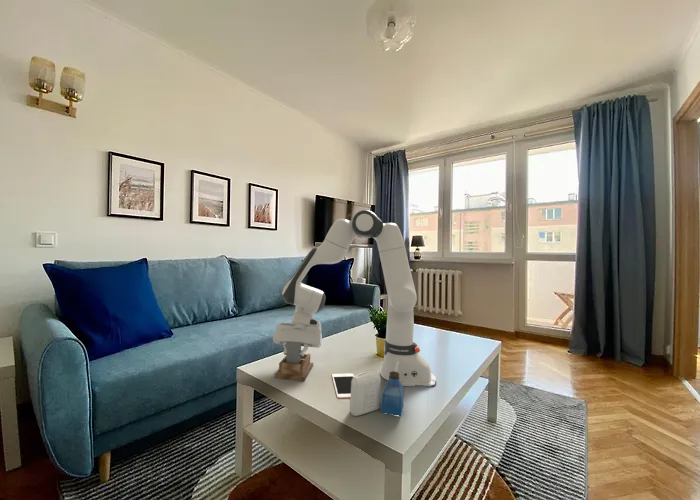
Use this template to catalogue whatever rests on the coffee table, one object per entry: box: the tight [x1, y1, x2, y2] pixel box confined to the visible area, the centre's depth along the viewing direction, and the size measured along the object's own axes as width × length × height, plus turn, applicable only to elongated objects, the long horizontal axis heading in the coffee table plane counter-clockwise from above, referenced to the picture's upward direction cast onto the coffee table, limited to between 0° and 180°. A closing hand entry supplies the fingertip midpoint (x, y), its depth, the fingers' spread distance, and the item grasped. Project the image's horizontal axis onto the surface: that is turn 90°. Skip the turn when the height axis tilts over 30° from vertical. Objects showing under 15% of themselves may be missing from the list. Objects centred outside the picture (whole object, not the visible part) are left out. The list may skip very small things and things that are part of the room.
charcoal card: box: [286, 341, 302, 364], centre depth 115 cm, size 5×2×10 cm, turn 84°
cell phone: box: [331, 373, 355, 400], centre depth 109 cm, size 9×18×1 cm, turn 10°
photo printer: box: [349, 370, 382, 417], centre depth 93 cm, size 10×4×12 cm, turn 124°
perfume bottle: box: [380, 371, 405, 417], centre depth 94 cm, size 6×6×12 cm
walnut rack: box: [274, 353, 314, 382], centre depth 118 cm, size 12×14×6 cm
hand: (293, 355), depth 115 cm, fingers closed on charcoal card, 5 cm apart
